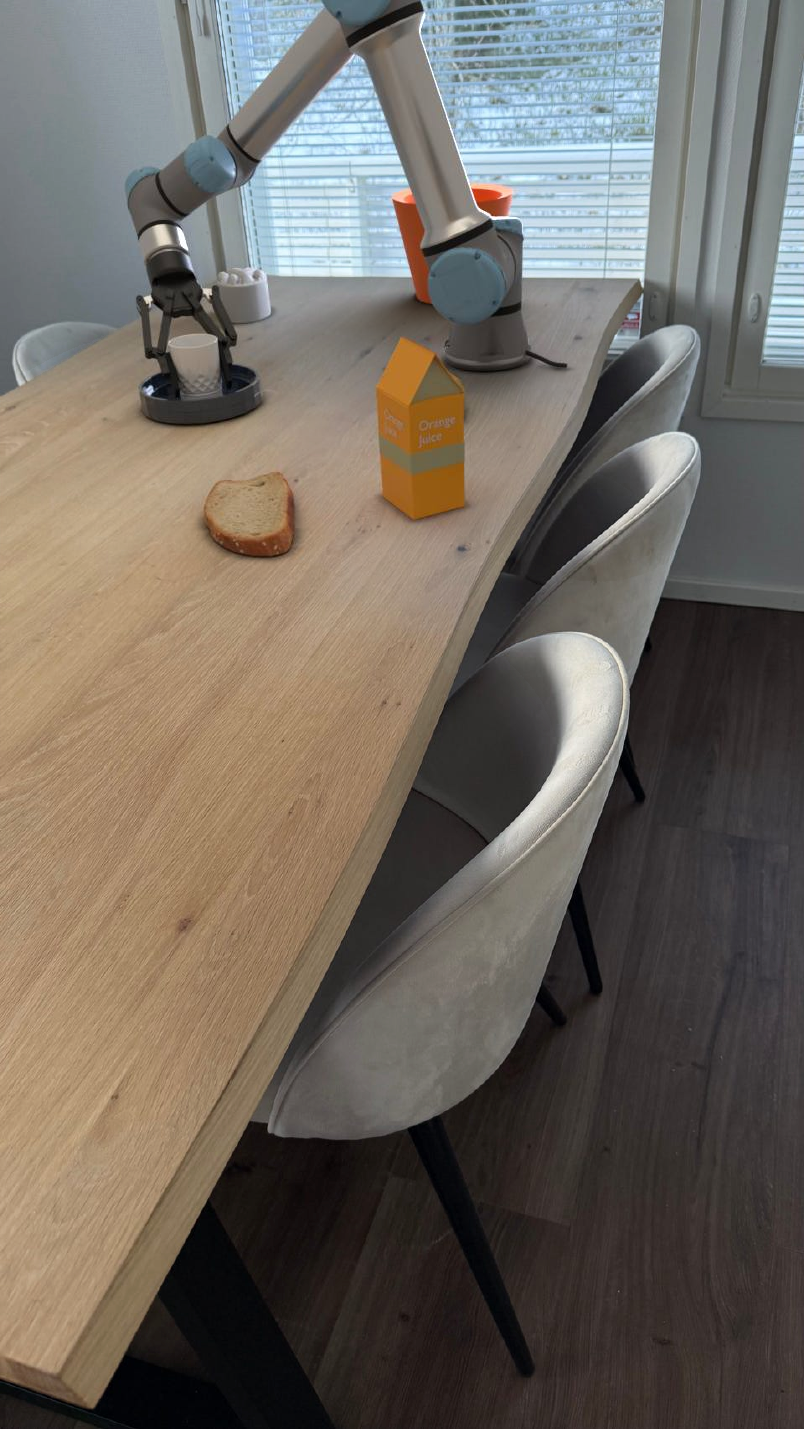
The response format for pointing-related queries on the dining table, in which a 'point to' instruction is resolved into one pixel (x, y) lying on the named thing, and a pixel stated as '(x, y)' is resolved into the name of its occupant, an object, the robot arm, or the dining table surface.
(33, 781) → the dining table surface
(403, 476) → the orange juice
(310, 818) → the dining table surface
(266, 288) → the lumpy-topped squat cylinder
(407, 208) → the flowerpot
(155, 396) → the plate
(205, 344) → the white cup
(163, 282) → the robot arm
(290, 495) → the slice of bread
